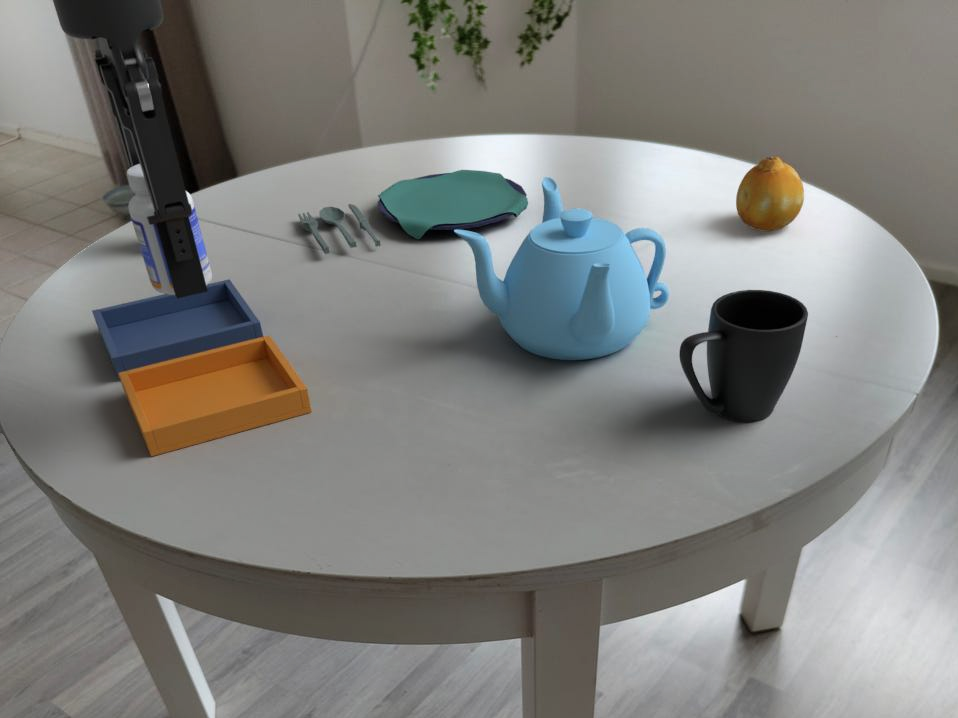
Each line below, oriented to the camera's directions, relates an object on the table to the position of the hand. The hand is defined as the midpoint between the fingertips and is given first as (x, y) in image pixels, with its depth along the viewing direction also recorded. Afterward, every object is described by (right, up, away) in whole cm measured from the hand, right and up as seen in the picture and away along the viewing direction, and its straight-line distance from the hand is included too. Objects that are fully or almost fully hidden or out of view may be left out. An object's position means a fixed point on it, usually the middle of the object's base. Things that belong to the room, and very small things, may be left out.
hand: (183, 280), depth 84 cm
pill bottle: (0, 0, 0) cm, 1 cm away
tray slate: (-6, +1, +19) cm, 20 cm away
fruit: (+63, +20, +35) cm, 75 cm away
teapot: (+36, +1, +17) cm, 39 cm away
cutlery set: (+18, +24, +41) cm, 51 cm away
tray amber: (+1, -9, +9) cm, 13 cm away
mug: (+50, -11, +4) cm, 51 cm away
